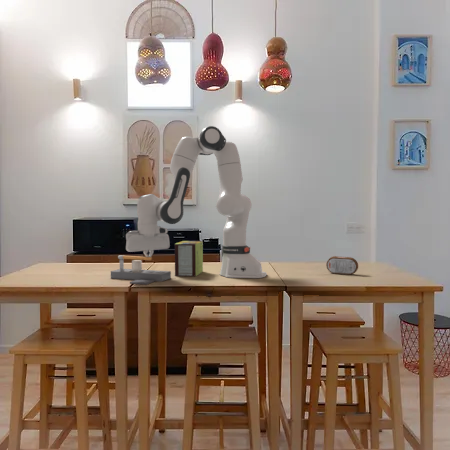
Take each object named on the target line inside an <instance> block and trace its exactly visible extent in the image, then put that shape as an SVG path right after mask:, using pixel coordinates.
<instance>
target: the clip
mask: <svg viewBox="0 0 450 450" xmlns="http://www.w3.org/2000/svg"><path fill="white" fill-rule="evenodd" d="M117 259H119V260H120V259H124V260H141V261H152V260H153V257H152V256H151V257H146V256H139V255H138V256H135V255H124V254H123V255H118V256H117Z"/></svg>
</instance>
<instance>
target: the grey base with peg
mask: <svg viewBox="0 0 450 450" xmlns="http://www.w3.org/2000/svg"><path fill="white" fill-rule="evenodd" d="M124 260H125V259H119V269H115V270H111V271H110V279H116V280H117V279H118V280H129V281H130V280H132V281H135V280H138V279H147V280H155V282H160V283H161V282H164V281H167V280H169V279H171V278H172V272H171V271H170V270H155V269H154V270H153V269H142V272H132V268H125V267H124V264H125V263H124Z"/></svg>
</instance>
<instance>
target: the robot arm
mask: <svg viewBox="0 0 450 450" xmlns="http://www.w3.org/2000/svg"><path fill="white" fill-rule="evenodd" d="M200 155H201V156H210V155H214V156H215V158H216V161H217V162H216V163H217V171H218V177H219V178H218V179H219V188H218V189H219V191H218V198H217V200H216V204H215V205H216V206H215V207H216V210H217V211H218V213H219V214H221V215H223V216H225V217H226V221H225V225H224V227H223V229H222V246H221V255H222V261H221V268H220V272H219V276H223V277H226V278H231V279H232V278H233V279H234V278H235V279H240V278H241V279H243V278H244V279H245V278H246V279H261V278H265V277H267V272H266V271H263V267H262V263H261V261H260V260H259V259H257V258H256V257H255V256H254V255H253V254H251V246H248V245H247V225H248V221H249V214H250V211H251V210H252V201H251V199H250V198H249V197H248V196H246V195H245V194H243V193H242V192H241V191H242V190H241V189H242V183H243V172H242V171H243V170H242V165H241V164H242V163H241V159H240V158H241V157H240V154H239V151H238V147H237V145H236V144H235V143H234V142H232V141H227V139H226V137H225V136H224V134H223V133H222V132H221V130H220V129H219V128H218V127H216V126H214V125H209V126H206V127H204V128H203V129H202V130H201V131H200V132H199V134H198V136H197V137H193V136H183V137H182V138H180V139H179V141H178V143H177V145H176V147H175V149H174V151H173V154H172V157H171V160H170V166H169V171H170V173H171V174H172V177H173V184H172V188H171V192H170V196H169V198H168V200H164V199H162V198H160V197H158V196H156V194H153V193H149V194H145V195H141V196H139V198H138V199H137V205H136V211H137V213H136V215H137V218H138V220H137V230H128V232H126V234H125V240H126V243H125V250H126V251H127V252H130V253H131V252H132V253H133V252H134V253H135V252H143V255H144V257H152V256H153V254H154V251H155V250H167V249H169V248H170V246H171V245H170V243H171V242H170V236H169V234H168V232H169V230H168V228H166V227H163V226H159V225H158V222H159V221H160V222H163V223H166V224H169V225H175V224H177V223H179V222H180V221H181V220H182V219H183V217H184V200H185V198H186V194H187V190H188V186H189V182H190V179H191V175H192V174H193V170H194V168H195V165H196V162H197V159H198V156H200Z"/></svg>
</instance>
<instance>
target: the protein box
mask: <svg viewBox="0 0 450 450" xmlns="http://www.w3.org/2000/svg"><path fill="white" fill-rule="evenodd" d="M203 243H204V242H203V240H201V241H200V240H182V241H179V242H176V243H174V276H175V277H197V276H198V275H200V274H202V273H203V271H204V270H203V269H204V268H203V267H204V265H203V264H204V259H203V258H204V256H203V255H204V253H203V252H204V251H203V250H204V249H203V245H204V244H203Z"/></svg>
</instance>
